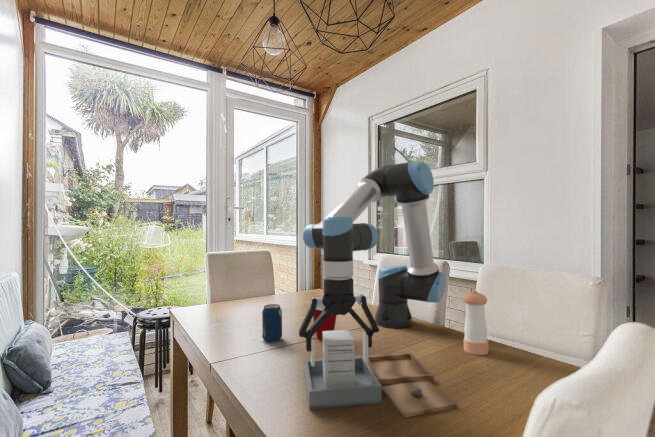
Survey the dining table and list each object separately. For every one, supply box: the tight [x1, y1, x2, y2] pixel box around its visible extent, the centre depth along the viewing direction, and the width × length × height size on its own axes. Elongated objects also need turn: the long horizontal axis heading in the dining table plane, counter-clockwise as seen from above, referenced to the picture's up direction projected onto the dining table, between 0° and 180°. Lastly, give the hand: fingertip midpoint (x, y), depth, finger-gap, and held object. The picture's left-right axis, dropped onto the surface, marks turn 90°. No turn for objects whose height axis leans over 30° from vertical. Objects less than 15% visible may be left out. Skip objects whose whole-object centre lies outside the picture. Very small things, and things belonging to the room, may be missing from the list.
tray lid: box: [382, 380, 458, 419], centre depth 77 cm, size 13×12×2 cm
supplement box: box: [322, 329, 356, 389], centre depth 82 cm, size 7×7×13 cm
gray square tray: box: [304, 356, 383, 411], centre depth 82 cm, size 17×17×4 cm
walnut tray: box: [367, 352, 434, 386], centre depth 91 cm, size 15×15×2 cm
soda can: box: [261, 303, 283, 344], centre depth 117 cm, size 7×7×12 cm
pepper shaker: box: [462, 289, 490, 356], centre depth 105 cm, size 7×7×19 cm
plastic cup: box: [309, 303, 337, 341], centre depth 118 cm, size 11×11×12 cm
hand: (339, 362), depth 82 cm, fingers open, 13 cm apart
